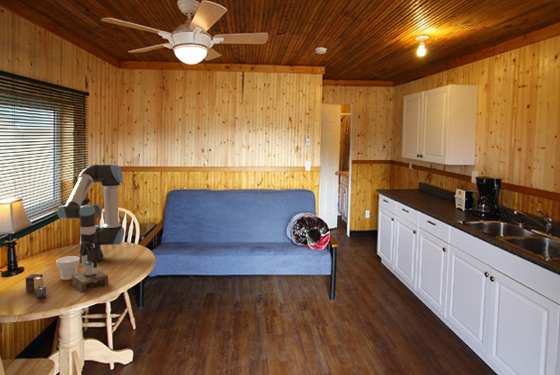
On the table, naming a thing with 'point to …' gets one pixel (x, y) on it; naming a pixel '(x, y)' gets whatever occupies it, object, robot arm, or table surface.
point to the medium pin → (38, 283)
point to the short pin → (41, 293)
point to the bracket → (88, 280)
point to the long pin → (89, 272)
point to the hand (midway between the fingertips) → (89, 269)
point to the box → (31, 281)
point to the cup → (67, 266)
